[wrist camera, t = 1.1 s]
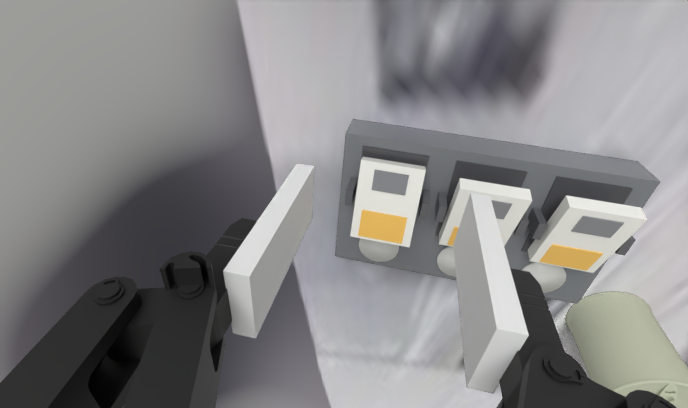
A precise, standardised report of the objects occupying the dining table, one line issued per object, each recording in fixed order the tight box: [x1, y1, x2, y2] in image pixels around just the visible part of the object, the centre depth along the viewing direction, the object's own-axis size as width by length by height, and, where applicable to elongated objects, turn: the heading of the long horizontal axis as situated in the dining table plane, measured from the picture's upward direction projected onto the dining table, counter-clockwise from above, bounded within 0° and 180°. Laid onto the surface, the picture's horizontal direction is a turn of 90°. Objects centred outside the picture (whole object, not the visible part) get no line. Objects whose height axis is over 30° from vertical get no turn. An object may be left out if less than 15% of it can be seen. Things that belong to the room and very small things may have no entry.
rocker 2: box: [528, 195, 647, 273], centre depth 32 cm, size 8×6×2 cm
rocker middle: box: [439, 178, 532, 247], centre depth 33 cm, size 8×6×2 cm
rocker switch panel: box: [335, 119, 660, 304], centre depth 37 cm, size 16×28×7 cm, turn 85°
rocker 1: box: [350, 157, 426, 247], centre depth 34 cm, size 8×6×2 cm
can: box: [566, 292, 688, 408], centre depth 40 cm, size 9×9×12 cm
